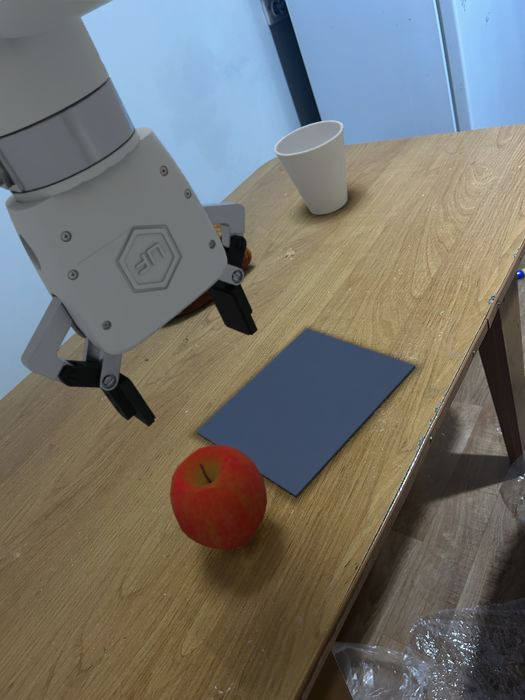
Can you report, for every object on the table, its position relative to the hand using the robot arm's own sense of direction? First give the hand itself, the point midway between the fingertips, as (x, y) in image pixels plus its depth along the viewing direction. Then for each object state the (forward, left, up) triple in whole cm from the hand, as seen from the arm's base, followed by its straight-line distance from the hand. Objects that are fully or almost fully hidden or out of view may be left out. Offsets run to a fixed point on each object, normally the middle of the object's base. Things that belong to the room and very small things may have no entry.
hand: (194, 370), depth 41 cm
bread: (+49, -23, -21) cm, 58 cm away
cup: (+40, -51, -21) cm, 68 cm away
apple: (+4, +3, -21) cm, 22 cm away
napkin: (+11, -13, -21) cm, 27 cm away
